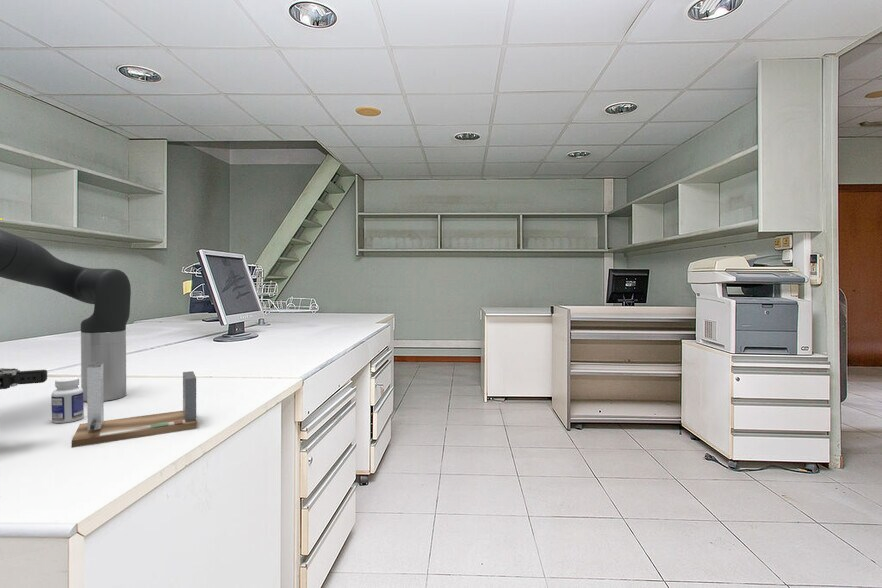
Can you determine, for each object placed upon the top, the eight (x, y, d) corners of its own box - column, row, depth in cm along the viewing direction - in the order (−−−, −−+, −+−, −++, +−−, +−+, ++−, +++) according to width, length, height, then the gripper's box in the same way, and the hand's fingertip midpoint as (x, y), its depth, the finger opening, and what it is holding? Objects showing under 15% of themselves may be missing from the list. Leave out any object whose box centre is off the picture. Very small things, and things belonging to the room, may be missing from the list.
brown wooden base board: (79, 429, 89) (79, 422, 89) (192, 414, 100) (192, 407, 100) (71, 447, 80) (71, 439, 80) (196, 428, 91) (196, 421, 91)
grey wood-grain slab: (182, 412, 98) (182, 372, 97) (193, 410, 99) (193, 371, 98) (185, 422, 91) (185, 379, 91) (196, 420, 92) (196, 377, 92)
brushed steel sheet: (91, 422, 88) (90, 362, 88) (103, 420, 89) (103, 362, 89) (85, 436, 80) (84, 371, 80) (99, 434, 82) (98, 370, 81)
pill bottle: (82, 414, 99) (81, 375, 99) (85, 420, 95) (84, 379, 95) (50, 419, 95) (50, 378, 95) (52, 425, 91) (52, 383, 91)
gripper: (-114, 369, 67) (39, 360, 76) (-76, 357, 78) (53, 351, 87) (-114, 418, 67) (38, 403, 76) (-76, 399, 78) (53, 388, 87)
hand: (46, 375), depth 82 cm, fingers closed
